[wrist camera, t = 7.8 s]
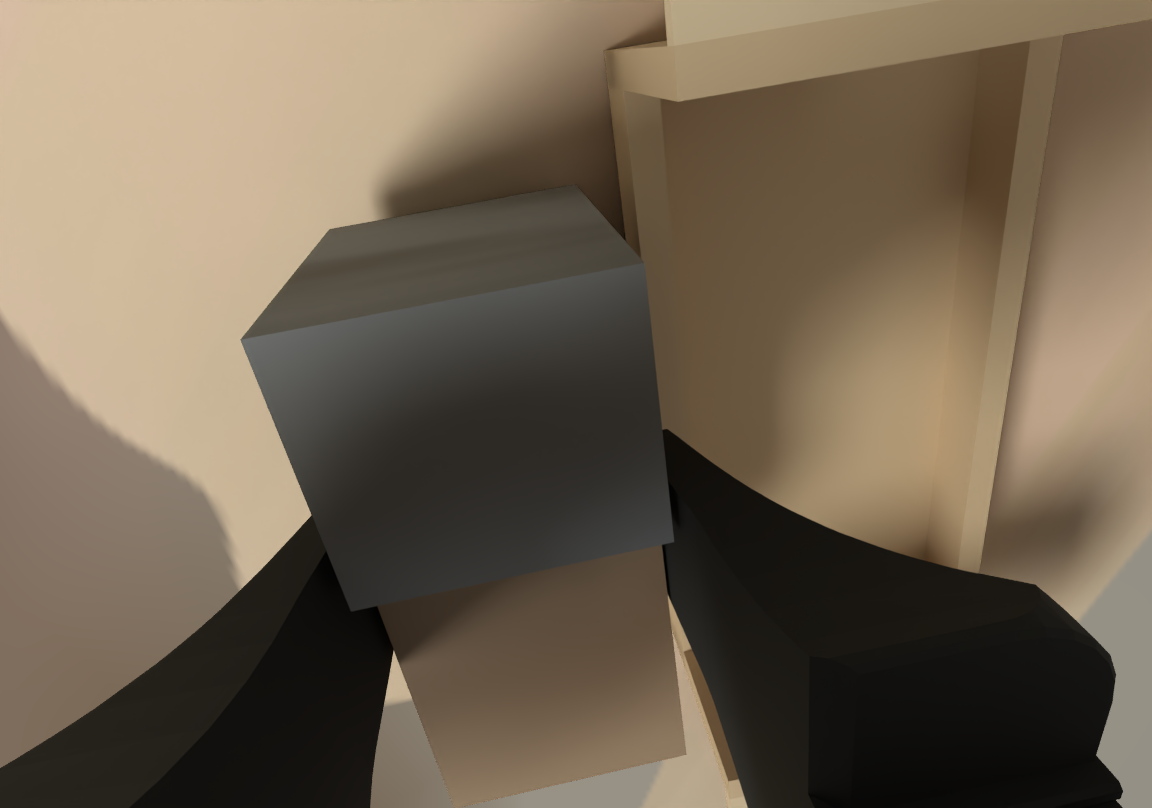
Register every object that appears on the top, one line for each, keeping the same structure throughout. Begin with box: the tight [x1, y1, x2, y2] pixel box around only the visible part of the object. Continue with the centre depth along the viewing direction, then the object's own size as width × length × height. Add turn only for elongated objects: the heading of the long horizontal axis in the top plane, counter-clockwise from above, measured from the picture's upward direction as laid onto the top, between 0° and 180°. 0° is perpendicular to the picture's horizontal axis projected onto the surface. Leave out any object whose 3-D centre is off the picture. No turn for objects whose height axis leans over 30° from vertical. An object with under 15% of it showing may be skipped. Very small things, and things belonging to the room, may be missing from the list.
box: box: [241, 184, 686, 808], centre depth 12 cm, size 10×4×6 cm, turn 9°
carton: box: [604, 0, 1152, 808], centre depth 14 cm, size 20×8×5 cm, turn 8°
